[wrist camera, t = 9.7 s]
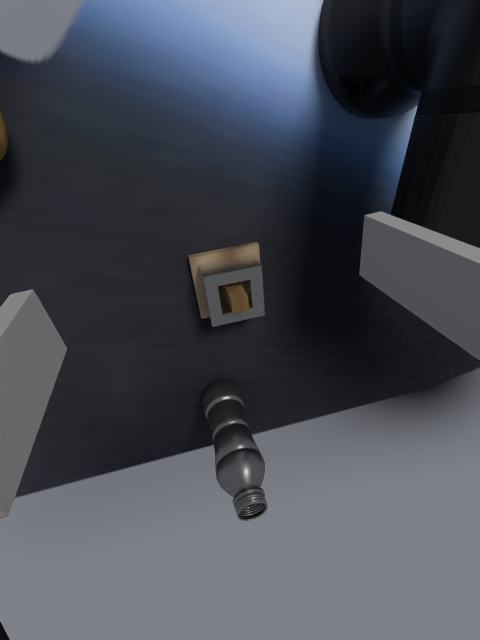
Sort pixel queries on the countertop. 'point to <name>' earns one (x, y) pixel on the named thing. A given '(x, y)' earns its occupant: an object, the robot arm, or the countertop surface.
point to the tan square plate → (229, 291)
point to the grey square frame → (230, 273)
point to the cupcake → (3, 137)
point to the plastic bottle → (235, 450)
